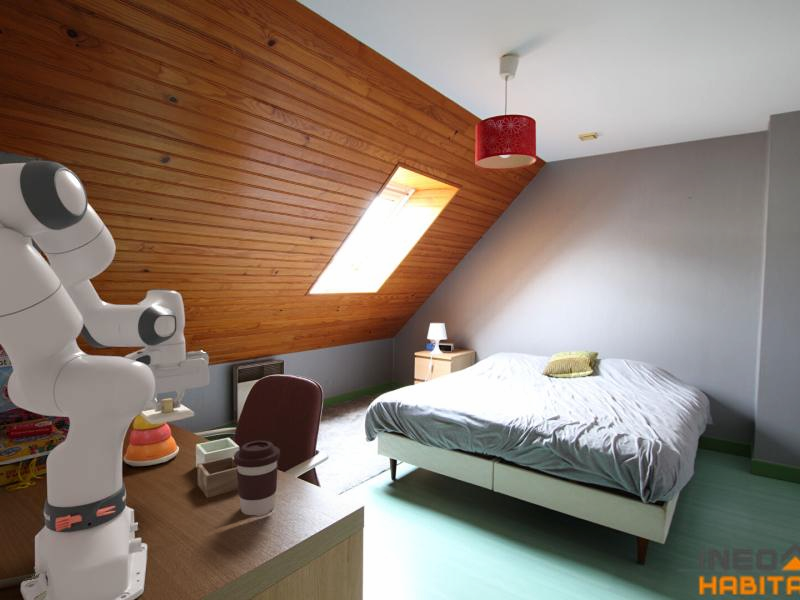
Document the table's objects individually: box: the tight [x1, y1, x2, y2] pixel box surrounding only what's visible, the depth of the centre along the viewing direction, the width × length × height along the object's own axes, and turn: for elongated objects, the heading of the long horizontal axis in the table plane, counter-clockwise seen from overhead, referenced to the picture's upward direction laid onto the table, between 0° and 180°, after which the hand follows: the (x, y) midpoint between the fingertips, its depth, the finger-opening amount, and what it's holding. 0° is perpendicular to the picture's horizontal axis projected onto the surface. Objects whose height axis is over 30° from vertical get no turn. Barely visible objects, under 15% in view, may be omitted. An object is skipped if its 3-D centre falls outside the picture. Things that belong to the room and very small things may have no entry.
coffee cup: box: [234, 440, 281, 518], centre depth 102 cm, size 10×10×15 cm
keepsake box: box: [196, 456, 238, 499], centre depth 113 cm, size 9×9×6 cm
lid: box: [141, 397, 195, 424], centre depth 112 cm, size 10×10×5 cm
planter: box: [195, 437, 240, 468], centre depth 124 cm, size 9×9×7 cm
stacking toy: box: [123, 398, 180, 467], centre depth 132 cm, size 14×14×20 cm
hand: (167, 409), depth 112 cm, fingers closed on lid, 3 cm apart
